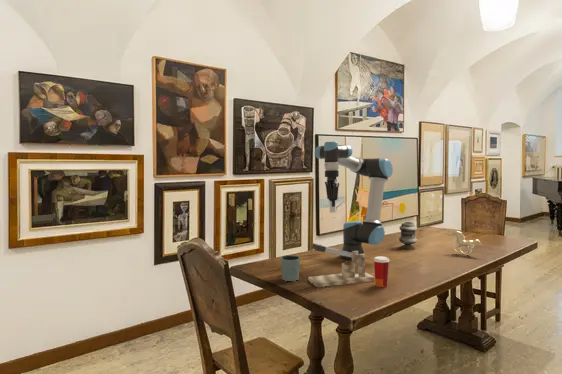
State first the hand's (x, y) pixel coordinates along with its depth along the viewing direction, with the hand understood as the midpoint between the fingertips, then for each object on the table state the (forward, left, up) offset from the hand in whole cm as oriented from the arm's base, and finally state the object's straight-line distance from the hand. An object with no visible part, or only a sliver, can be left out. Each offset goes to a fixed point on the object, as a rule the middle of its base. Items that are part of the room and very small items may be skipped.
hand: (332, 212), depth 222 cm
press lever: (+5, +16, -20) cm, 26 cm away
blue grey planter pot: (+27, +5, -34) cm, 44 cm away
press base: (+3, +16, -34) cm, 37 cm away
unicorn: (-98, -7, -34) cm, 105 cm away
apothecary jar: (-77, -39, -34) cm, 93 cm away
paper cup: (-12, +30, -34) cm, 47 cm away
